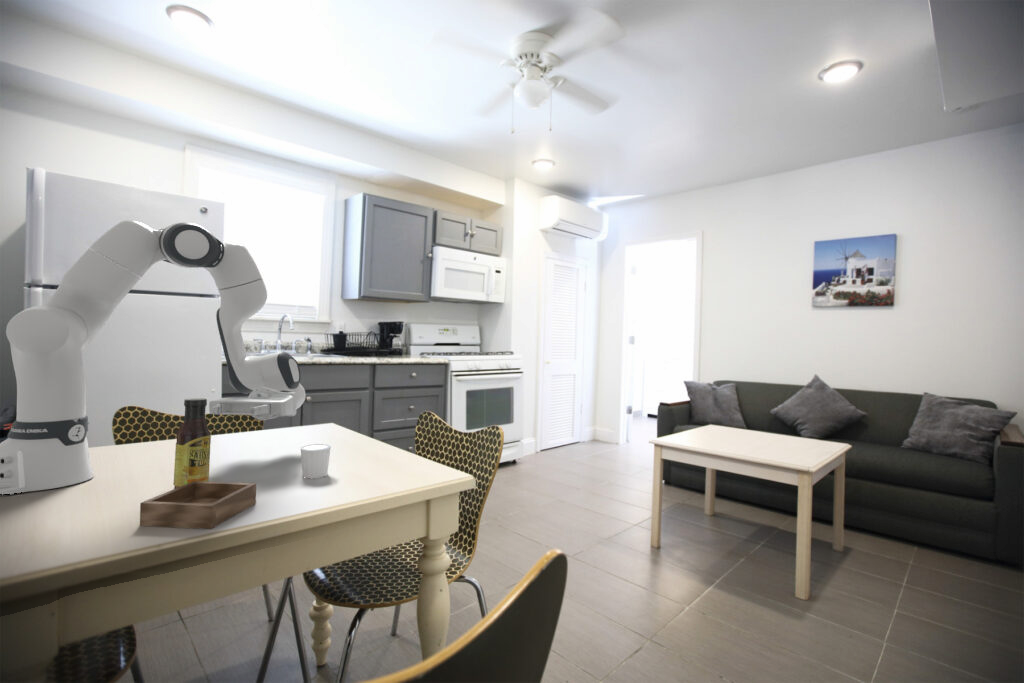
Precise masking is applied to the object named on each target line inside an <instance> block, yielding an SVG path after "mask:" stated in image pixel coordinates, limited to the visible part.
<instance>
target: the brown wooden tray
mask: <svg viewBox="0 0 1024 683" xmlns="http://www.w3.org/2000/svg"><path fill="white" fill-rule="evenodd" d="M256 502H257V483H252V482H251V483H248V482H226V481H225V482H224V481H222V482H220V481H208V482H204V481H193V482H191V483H188V484H186V485H183V486H181V487H178V488H176V489H174V488H173V489H171V490H169V491H166V492H164V493H161V494H159V495H157V496H154V497H152V498H150V499H147V500H144V501H141V502H140V504H139V509H140V510H139V527H158V528H159V527H161V528H162V527H163V528H180V529H199V528H205V530H212V528H213V529H214V528H216V527H218V526H219V524H220V523H221V524H222V522H223V523H224V521H225V522H227V521H228V520H230V519H232V518H233V517H234V516H237V515H238V514H240V513H242V512H243V510H244V511H246V510H247V509H249V508H250V507H252V506H253V505H256V504H255V503H256ZM236 514H237V515H236ZM231 517H232V518H231ZM229 518H230V519H229ZM221 524H220V525H221ZM217 525H218V526H217ZM215 526H216V527H215Z"/></svg>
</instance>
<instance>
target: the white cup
mask: <svg viewBox="0 0 1024 683" xmlns="http://www.w3.org/2000/svg"><path fill="white" fill-rule="evenodd" d="M330 455H331V445H330V444H324V443H321V444H319V443H318V444H308V445H303V446H302V447H300V456H301V457H300V458H301V470H302V471H301V473H302V477H303V478H304V477H305V478H304V479H308V478H315V479H320V478H319V477H322V478H324V477H323V476H325V477H327V476H328V473H329V465H330V464H329V463H330Z"/></svg>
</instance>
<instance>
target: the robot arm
mask: <svg viewBox="0 0 1024 683" xmlns="http://www.w3.org/2000/svg"><path fill="white" fill-rule="evenodd" d="M161 261H164V262H166V263H169V264H172V265H175V266H177V267H179V268H186V269H190V268H192V269H193V268H196V269H198V268H203V269H205V270H207V272H209V274H210V275H211V276H212V278H213V280H214V283H215V285H216V288H217V290H218V293H219V298H220V306H219V308H218V309H217V310H216V314H215V317H216V324H217V330H218V334H219V338H220V342H221V346H222V350H223V354H224V357H225V363H226V368H227V378H228V382H229V385H230V386H231V387H232V388H233V389H234V390H235V391H236V392H238V393H241V394H244V395H248V394H249V395H248V396H246V397H245V396H243V397H240V396H239V397H238V396H236V397H235V396H234V397H233V396H231V397H221V398H215V399H214V398H213V399H211V400H209V401H208V412H209V414H210V415H234V416H235V415H237V416H238V415H241V416H251V417H253V418H254V419H255V420H259V421H267V420H270V419H272V420H273V419H276V418H281V417H283V418H284V417H285V418H286V417H294V416H296V415H297V409H299V408H301V406H302V405H303V404H304V402H305V400H306V396H307V395H306V389H305V388H304V386H303V385H302V384H301V383H300V382H301V370H300V366H299V363H298V362H297V360H296V359H295V358H294V357H293V356H292V355H291V354H290V353H288V352H286V351H278V352H271V353H267V354H264V355H259V356H254V357H250V356H248V355H247V352H246V347H245V344H244V339H243V334H242V327H243V324H244V323H245V322H246V321H247V320H248V319H249V318H251V317H253V316H254V315H256V314H257V313H258V312H260V311H261V310H262V309H263V308H264V306H265V304H266V302H267V299H268V292H267V287H266V285H265V282H264V279H263V277H262V274H261V272H260V270H259V268H258V266H257V264H256V261H255V260H254V258H253V256H252V255H251V253H250V252H249V250H248V248H246V246H245V245H243V244H242V243H239V242H234V241H226V242H222V241H221V240H220V239H219V238H217V237H216V236H215V235H214V234H213V233H211V232H210V231H209V230H208V229H206V228H205V227H203V226H202V225H200V224H197V223H194V222H193V223H192V222H177V223H173V224H171V225H168V226H166V227H164V228H161V229H154V228H152V227H150V226H149V225H147V224H145V223H143V222H141V221H137V220H129V219H127V220H122V221H120V222H118V223H117V224H116V225H113V227H111V228H110V229H108V230H107V231H106V232H104V233H103V234H102V235H101V236H100V237H99V238H98V239H96V240H95V241H94V242H93V243H92V244H91V245H90V247H89V248H88V249H87V250H85V252H84V253H83V254H82V255H81V257H79V259H77V261H75V263H73V265H72V266H71V267H70V268H69V270H68V271H66V272H65V274H64V275H63V277H62V280H61V282H60V283H59V285H58V286H57V289H56V290H55V291H54V293H53V294H52V296H51V297H50V299H48V302H47V303H46V304H45V305H37V306H32V307H31V306H30V307H28V308H26V309H23V310H22V311H19V312H18V313H16V314H15V315H14V316H12V317H11V319H10V320H9V322H7V325H6V329H5V334H6V338H7V340H8V342H9V344H10V353H11V359H12V364H13V370H14V373H15V379H16V419H15V420H14V421H13V422H12V423H6V424H3V426H6V427H4V428H3V430H5V431H7V430H9V432H8V434H7V435H6V436H7V438H6V439H5V440H3V441H1V442H0V494H2V495H1V496H4V495H3V494H10V495H15V494H14V493H17V494H20V493H21V492H22V493H26V492H37V491H44V490H45V491H46V490H52V489H57V488H64V487H67V486H72V485H75V484H79V483H83V482H85V481H88V480H90V479H91V480H92V478H93V477H94V473H93V471H94V467H93V466H92V465H91V460H90V459H91V458H90V450H89V441H88V438H87V432H88V431H89V425H90V424H89V423H90V422H89V417H88V415H87V414H86V413H87V380H86V377H85V376H86V375H85V370H84V365H83V364H84V363H83V353H82V352H83V350H85V349H86V348H87V347H88V346H89V345H90V344H91V343H92V341H93V340H94V338H96V336H97V334H98V333H100V331H101V330H102V329H103V326H104V325H105V324H106V323H107V321H108V320H109V319H110V317H111V315H112V314H113V312H114V311H115V310H116V308H117V307H118V305H120V303H121V302H122V300H123V299H125V297H126V296H127V295H128V294H129V293H130V291H131V290H132V289H133V288H134V287H135V285H136V284H138V282H139V281H140V280H141V278H143V276H145V274H146V272H147V271H148V270H149V269H151V267H152V266H153V265H155V264H156V263H158V262H161ZM7 426H8V427H7Z"/></svg>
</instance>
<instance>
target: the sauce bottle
mask: <svg viewBox="0 0 1024 683" xmlns="http://www.w3.org/2000/svg"><path fill="white" fill-rule="evenodd" d="M207 405H208V400H207V398H205V397H204V398H202V397H200V398H199V397H198V398H186V399H184V402H183V406H184V417H183V420H184V421H183V422H182V423H181V425H180V426H179V428H178V429H177V432H176V443H175V451H174V452H175V453H174V471H173V482H172V483H173V487H174V488H173V489H176V488H178V487H181V486H183V485H186V484H188V483H191V482H193V481H204V482H210V481H209V479H210V478H209V477H210V461H211V460H210V458H211V443H212V442H211V441H212V439H211V438H212V436H211V433H210V430H209V427H208V423H207V420H206V409H207V408H206V407H207Z"/></svg>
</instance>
